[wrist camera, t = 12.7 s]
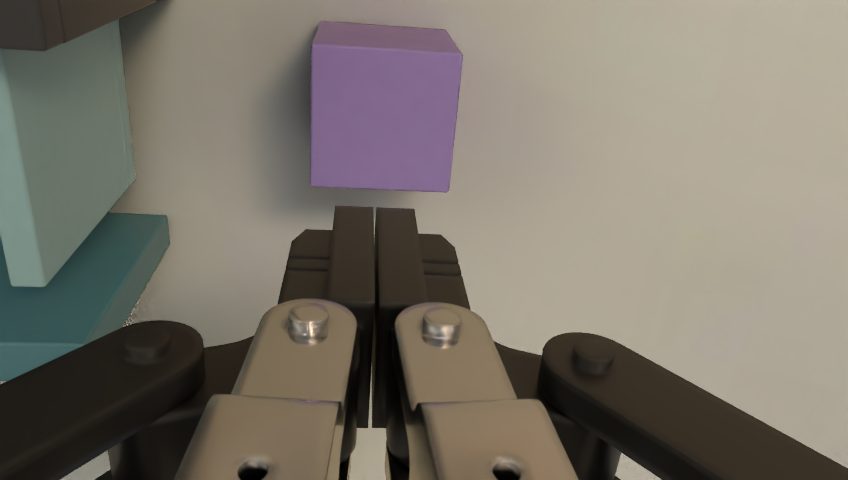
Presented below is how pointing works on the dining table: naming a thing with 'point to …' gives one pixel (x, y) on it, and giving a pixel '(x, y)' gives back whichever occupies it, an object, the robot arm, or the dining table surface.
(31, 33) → the drawer cabinet
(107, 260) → the box with handle
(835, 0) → the dining table surface
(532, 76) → the dining table surface
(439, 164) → the block
